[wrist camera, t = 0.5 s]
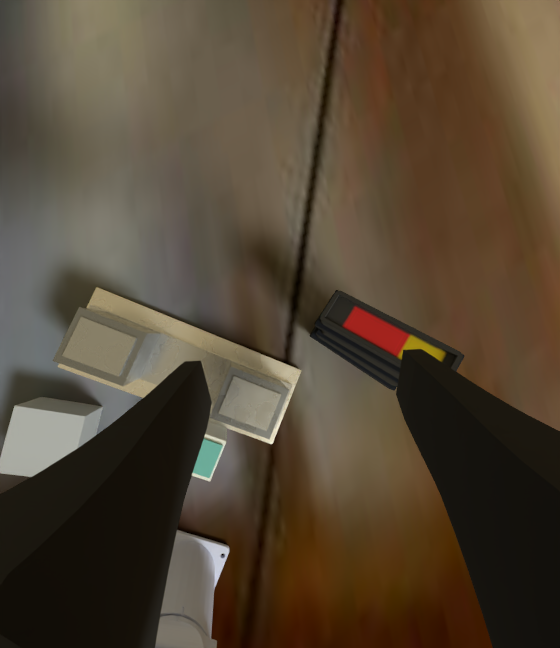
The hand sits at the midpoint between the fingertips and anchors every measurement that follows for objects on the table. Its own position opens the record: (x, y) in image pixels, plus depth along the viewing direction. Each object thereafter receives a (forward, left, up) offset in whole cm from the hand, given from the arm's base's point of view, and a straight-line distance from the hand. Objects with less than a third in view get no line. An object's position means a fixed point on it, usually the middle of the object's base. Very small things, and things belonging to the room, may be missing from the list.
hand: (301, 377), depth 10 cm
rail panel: (-5, +6, -24) cm, 25 cm away
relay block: (-15, +15, -24) cm, 32 cm away
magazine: (+5, -10, -24) cm, 26 cm away
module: (-11, +2, -24) cm, 26 cm away
